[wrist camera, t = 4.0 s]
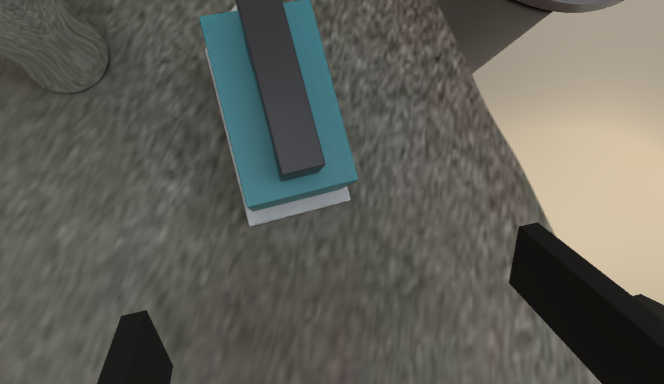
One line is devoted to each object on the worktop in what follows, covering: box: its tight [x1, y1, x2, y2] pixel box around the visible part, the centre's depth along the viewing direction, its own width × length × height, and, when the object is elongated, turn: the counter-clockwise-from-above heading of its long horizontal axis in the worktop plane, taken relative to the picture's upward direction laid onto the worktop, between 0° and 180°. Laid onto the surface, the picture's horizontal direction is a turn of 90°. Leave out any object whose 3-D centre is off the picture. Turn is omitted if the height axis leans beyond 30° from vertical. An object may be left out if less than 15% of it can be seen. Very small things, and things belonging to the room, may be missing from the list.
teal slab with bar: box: [199, 0, 358, 226], centre depth 26 cm, size 18×8×11 cm, turn 15°
